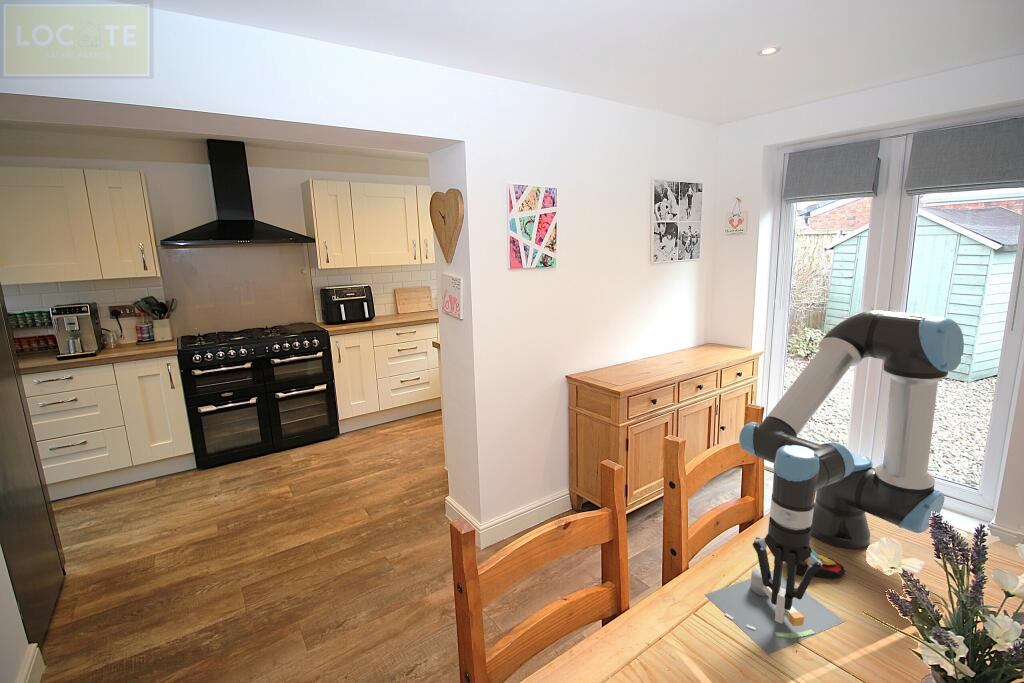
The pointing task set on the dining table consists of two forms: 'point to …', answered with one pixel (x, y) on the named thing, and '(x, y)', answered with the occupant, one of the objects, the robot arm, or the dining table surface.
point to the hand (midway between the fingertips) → (779, 618)
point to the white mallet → (762, 590)
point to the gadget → (822, 568)
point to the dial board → (771, 615)
